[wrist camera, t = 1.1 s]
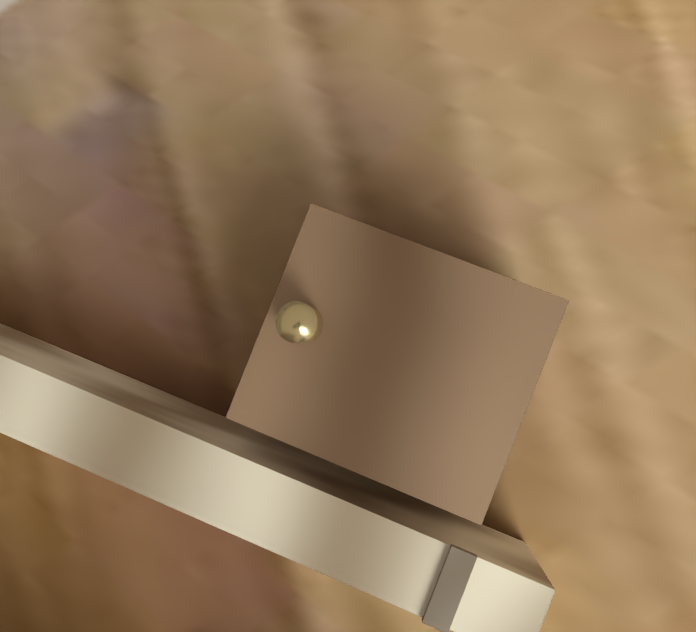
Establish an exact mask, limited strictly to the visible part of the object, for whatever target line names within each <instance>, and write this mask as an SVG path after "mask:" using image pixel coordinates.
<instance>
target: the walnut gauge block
mask: <svg viewBox="0 0 696 632" xmlns="http://www.w3.org/2000/svg"><path fill="white" fill-rule="evenodd" d="M568 302H569V300H566V299H564V298H561V297H559V296H556V295H553V294H551V293H548V292H545V291H543V290H540V289H537V288H535V287H532V286H529V285H527V284H524V283H521V282H519V281H516V280H513V279H511V278H508V277H506V276H503V275H500V274H498V273H495V272H492V271H490V270H487V269H484V268H482V267H479V266H476V265H474V264H471V263H468V262H466V261H463V260H460V259H458V258H455V257H453V256H450V255H447V254H445V253H442V252H439V251H437V250H434V249H431V248H429V247H426V246H423V245H421V244H418V243H415V242H413V241H410V240H407V239H405V238H402V237H399V236H397V235H394V234H392V233H389V232H386V231H384V230H381V229H378V228H376V227H373V226H370V225H368V224H365V223H362V222H360V221H357V220H354V219H352V218H349V217H346V216H344V215H341V214H339V213H336V212H333V211H331V210H328V209H325V208H323V207H320V206H317V205H315V204H312V203H311V205H310V207H309V210H308V212H307V215H306V217H305V220H304V222H303V225H302V227H301V230H300V232H299V235H298V237H297V240H296V242H295V245H294V247H293V250H292V252H291V255H290V257H289V260H288V262H287V265H286V267H285V270H284V272H283V275H282V277H281V280H280V282H279V285H278V288H277V290H276V293H275V295H274V298H273V300H272V303H271V305H270V308H269V310H268V313H267V315H266V318H265V320H264V323H263V325H262V328H261V330H260V333H259V335H258V338H257V340H256V343H255V345H254V348H253V350H252V353H251V355H250V358H249V360H248V363H247V365H246V368H245V370H244V373H243V375H242V378H241V380H240V383H239V385H238V388H237V390H236V393H235V395H234V398H233V400H232V403H231V405H230V408H229V410H228V413H227V415H226V418H227V419H230V420H232V421H235V422H237V423H239V424H242V425H244V426H246V427H249V428H251V429H254V430H256V431H258V432H261V433H263V434H265V435H268V436H270V437H273V438H275V439H277V440H280V441H282V442H284V443H287V444H289V445H292V446H294V447H296V448H299V449H301V450H303V451H306V452H308V453H311V454H313V455H315V456H318V457H320V458H322V459H325V460H327V461H330V462H332V463H334V464H337V465H339V466H341V467H344V468H346V469H349V470H351V471H353V472H356V473H358V474H360V475H363V476H365V477H368V478H370V479H372V480H375V481H377V482H379V483H382V484H384V485H387V486H389V487H391V488H394V489H396V490H398V491H401V492H403V493H406V494H408V495H410V496H413V497H415V498H417V499H420V500H422V501H425V502H427V503H429V504H432V505H434V506H436V507H439V508H441V509H444V510H446V511H448V512H451V513H453V514H455V515H458V516H460V517H463V518H465V519H467V520H470V521H472V522H474V523H477V524H479V525H482V523H483V520H484V517H485V515H486V512H487V510H488V507H489V505H490V502H491V500H492V497H493V494H494V492H495V489H496V487H497V484H498V482H499V479H500V476H501V474H502V471H503V469H504V466H505V464H506V461H507V459H508V456H509V453H510V451H511V448H512V446H513V443H514V441H515V438H516V435H517V433H518V430H519V428H520V425H521V423H522V420H523V418H524V415H525V412H526V410H527V407H528V405H529V402H530V400H531V397H532V394H533V392H534V389H535V387H536V384H537V382H538V379H539V377H540V374H541V371H542V369H543V366H544V364H545V361H546V359H547V356H548V353H549V351H550V348H551V346H552V343H553V341H554V338H555V336H556V333H557V330H558V328H559V325H560V323H561V320H562V318H563V315H564V312H565V310H566V307H567V305H568Z"/></svg>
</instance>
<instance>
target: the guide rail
mask: <svg viewBox="0 0 696 632" xmlns="http://www.w3.org/2000/svg"><path fill="white" fill-rule="evenodd" d="M0 433H2V434H5V435H7V436H9V437H11V438H14V439H16V440H18V441H21V442H23V443H25V444H27V445H30V446H32V447H34V448H37V449H39V450H41V451H43V452H46V453H48V454H50V455H53V456H55V457H57V458H59V459H62V460H64V461H66V462H69V463H71V464H73V465H75V466H78V467H80V468H82V469H85V470H87V471H89V472H91V473H94V474H96V475H98V476H101V477H103V478H105V479H107V480H110V481H112V482H114V483H117V484H119V485H121V486H123V487H126V488H128V489H130V490H133V491H135V492H137V493H139V494H142V495H144V496H146V497H149V498H151V499H153V500H155V501H158V502H160V503H162V504H164V505H167V506H169V507H171V508H174V509H176V510H178V511H180V512H183V513H185V514H187V515H190V516H192V517H194V518H196V519H199V520H201V521H203V522H206V523H208V524H210V525H212V526H215V527H217V528H219V529H222V530H224V531H226V532H228V533H231V534H233V535H235V536H238V537H240V538H242V539H244V540H247V541H249V542H251V543H254V544H256V545H258V546H260V547H263V548H265V549H267V550H270V551H272V552H274V553H276V554H279V555H281V556H283V557H286V558H288V559H290V560H292V561H295V562H297V563H299V564H302V565H304V566H306V567H308V568H311V569H313V570H315V571H317V572H320V573H322V574H324V575H327V576H329V577H331V578H333V579H336V580H338V581H340V582H343V583H345V584H347V585H349V586H352V587H354V588H356V589H359V590H361V591H363V592H365V593H368V594H370V595H372V596H375V597H377V598H379V599H381V600H384V601H386V602H388V603H391V604H393V605H395V606H397V607H400V608H402V609H404V610H407V611H409V612H411V613H413V614H416V615H418V616H420V617H423V618H422V623H424V624H426V625H429V626H431V627H433V628H435V629H438V630H440V631H442V632H449V629H450V630H452V631H455V632H539V631H540V628H541V626H542V623H543V620H544V618H545V615H546V613H547V610H548V607H549V605H550V602H551V600H552V597H553V595H554V592H555V589H554V587H553V586H552V584H551V582H550V581H549V579H548V578H547V576H546V575H545V573H544V571H543V570H542V568H541V567H540V565H539V563H538V562H537V560H536V559H535V557H534V555H533V554H532V552H531V551H530V549H529V547H528V546H527V544H526V543H525V542H523V541H521V540H518V539H516V538H514V537H511V536H509V535H506V534H504V533H502V532H499V531H497V530H495V529H492V528H490V527H487V526H485V525H483V524H482V525H479V524H477V523H474V522H472V521H470V520H467V519H465V518H463V517H460V516H458V515H455V514H453V513H451V512H448V511H446V510H444V509H441V508H439V507H436V506H434V505H432V504H429V503H427V502H425V501H422V500H420V499H417V498H415V497H413V496H410V495H408V494H406V493H403V492H401V491H398V490H396V489H394V488H391V487H389V486H387V485H384V484H382V483H379V482H377V481H375V480H372V479H370V478H368V477H365V476H363V475H360V474H358V473H356V472H353V471H351V470H349V469H346V468H344V467H341V466H339V465H337V464H334V463H332V462H330V461H327V460H325V459H322V458H320V457H318V456H315V455H313V454H311V453H308V452H306V451H303V450H301V449H299V448H296V447H294V446H292V445H289V444H287V443H284V442H282V441H280V440H277V439H275V438H273V437H270V436H268V435H265V434H263V433H261V432H258V431H256V430H254V429H251V428H249V427H246V426H244V425H242V424H239V423H237V422H235V421H232V420H230V419H227V418H226V417H224V416H222V415H219V414H217V413H214V412H212V411H210V410H207V409H205V408H203V407H200V406H198V405H195V404H193V403H191V402H188V401H186V400H183V399H181V398H179V397H176V396H174V395H171V394H169V393H167V392H164V391H162V390H159V389H157V388H155V387H152V386H150V385H147V384H145V383H143V382H140V381H138V380H136V379H133V378H131V377H128V376H126V375H124V374H121V373H119V372H116V371H114V370H112V369H109V368H107V367H104V366H102V365H100V364H97V363H95V362H92V361H90V360H88V359H85V358H83V357H80V356H78V355H76V354H73V353H71V352H68V351H66V350H64V349H61V348H59V347H57V346H54V345H52V344H49V343H47V342H45V341H42V340H40V339H37V338H35V337H33V336H30V335H28V334H25V333H23V332H21V331H18V330H16V329H13V328H11V327H9V326H6V325H4V324H1V323H0Z"/></svg>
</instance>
